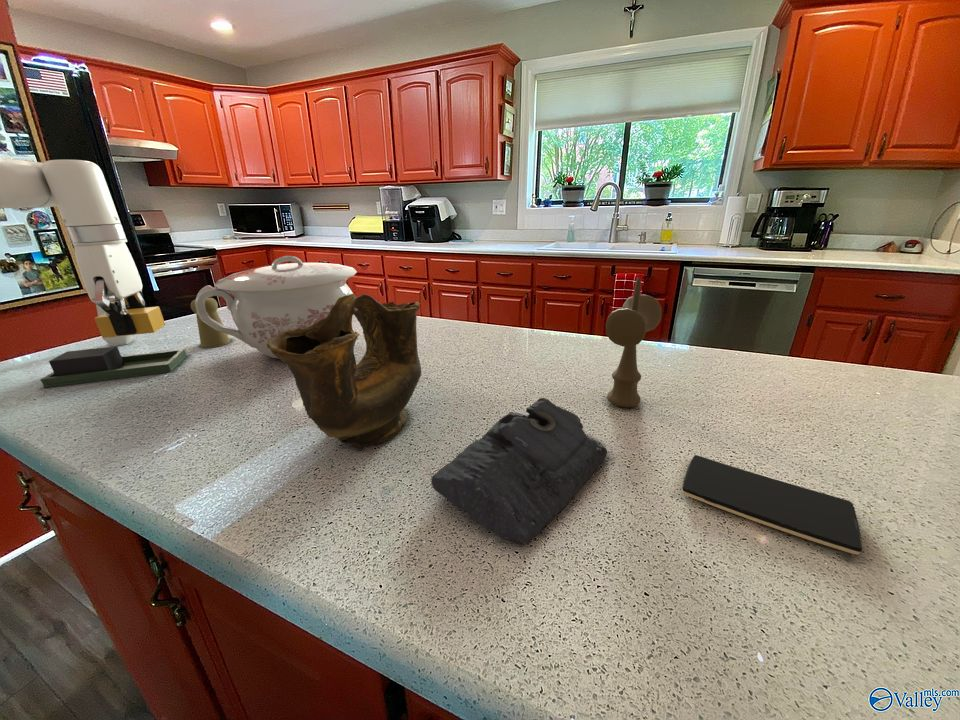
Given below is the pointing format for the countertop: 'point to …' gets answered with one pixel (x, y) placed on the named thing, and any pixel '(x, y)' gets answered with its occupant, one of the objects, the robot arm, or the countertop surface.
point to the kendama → (630, 343)
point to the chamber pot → (276, 299)
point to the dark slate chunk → (521, 471)
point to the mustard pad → (134, 321)
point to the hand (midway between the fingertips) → (134, 328)
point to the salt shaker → (119, 339)
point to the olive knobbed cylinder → (207, 333)
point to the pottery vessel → (355, 368)
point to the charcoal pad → (87, 361)
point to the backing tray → (124, 368)
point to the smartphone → (775, 503)
